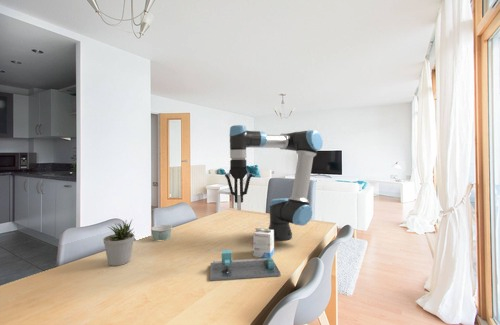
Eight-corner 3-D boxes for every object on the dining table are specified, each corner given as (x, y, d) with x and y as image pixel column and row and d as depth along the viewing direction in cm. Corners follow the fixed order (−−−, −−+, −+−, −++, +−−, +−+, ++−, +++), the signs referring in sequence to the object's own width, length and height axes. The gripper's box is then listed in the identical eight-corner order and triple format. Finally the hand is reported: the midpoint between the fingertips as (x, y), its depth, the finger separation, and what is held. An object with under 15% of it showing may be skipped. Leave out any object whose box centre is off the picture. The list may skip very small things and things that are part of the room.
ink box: (274, 252, 125) (274, 226, 125) (270, 258, 118) (270, 230, 117) (258, 250, 128) (258, 224, 128) (253, 256, 120) (253, 229, 120)
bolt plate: (272, 261, 114) (272, 252, 114) (280, 275, 100) (280, 265, 100) (210, 265, 110) (210, 256, 110) (210, 280, 96) (210, 270, 96)
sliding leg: (230, 263, 109) (230, 249, 109) (232, 270, 101) (232, 256, 101) (221, 263, 108) (221, 250, 108) (222, 271, 101) (222, 257, 101)
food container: (155, 243, 139) (155, 231, 139) (147, 238, 148) (147, 227, 148) (175, 238, 147) (175, 227, 147) (167, 234, 156) (167, 223, 156)
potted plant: (102, 271, 104) (101, 224, 104) (104, 259, 116) (103, 217, 116) (135, 265, 110) (135, 220, 109) (133, 255, 122) (133, 214, 122)
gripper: (250, 158, 120) (251, 207, 121) (223, 159, 118) (224, 208, 119) (253, 158, 113) (254, 210, 114) (224, 159, 111) (225, 212, 111)
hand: (238, 209), depth 116 cm, fingers closed
